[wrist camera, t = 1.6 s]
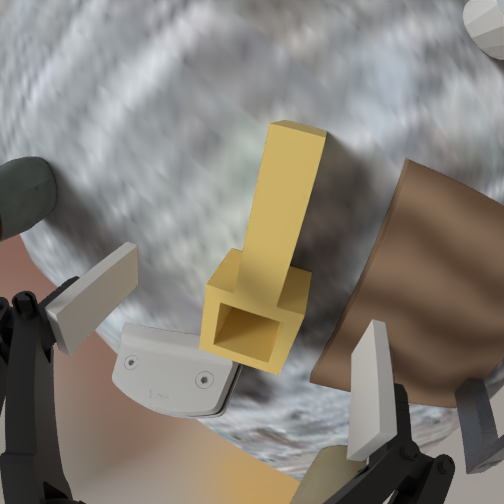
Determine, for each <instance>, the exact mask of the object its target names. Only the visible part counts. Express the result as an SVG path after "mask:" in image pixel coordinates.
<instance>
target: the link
mask: <svg viewBox="0 0 504 504" xmlns="http://www.w3.org/2000/svg"><path fill="white" fill-rule="evenodd" d="M326 134H327V131H325V130H322V129H318V128H314V127H311V126H307V125H303V124H299V123H295V122H291V121H287V120H283V121H278V122H274V123H270V124H269V129H268V133H267V138H266V142H265V147H264V152H263V156H262V161H261V166H260V170H259V175H258V180H257V185H256V189H255V194H254V199H253V203H252V208H251V213H250V218H249V223H248V227H247V232H246V237H245V242H244V247H243V251H240V250H236V249H233V248H231V250H230V251H229V253H228V254H227V255H226V257H225V258H224V260H223V261H222V263H221V264H220V265H219V267H218V268H217V270H216V271H215V273H214V274H213V276H212V277H211V278H210V280H209V281H208V283H207V284H206V292H205V300H204V309H203V317H202V326H201V335H200V344H199V349H202V350H204V351H207V352H210V353H212V354H215V355H218V356H221V357H224V358H227V359H229V360H232V361H235V362H238V363H241V364H244V365H247V366H251V367H254V368H257V369H260V370H263V371H267V372H270V373H273V374H277V375H279V373H280V371H281V369H282V367H283V364H284V362H285V360H286V358H287V356H288V353H289V351H290V349H291V347H292V344H293V342H294V340H295V337H296V335H297V333H298V330H299V328H300V326H301V323H302V321H303V319H304V316H305V311H306V306H307V300H308V294H309V288H310V281H311V275H312V272H308V271H305V270H302V269H299V268H295V267H292V266H289V265H290V262H291V259H292V256H293V252H294V249H295V246H296V242H297V239H298V236H299V232H300V229H301V226H302V222H303V219H304V216H305V212H306V209H307V205H308V202H309V198H310V195H311V191H312V188H313V184H314V180H315V177H316V173H317V169H318V166H319V162H320V158H321V155H322V151H323V147H324V143H325V139H326Z"/></svg>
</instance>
